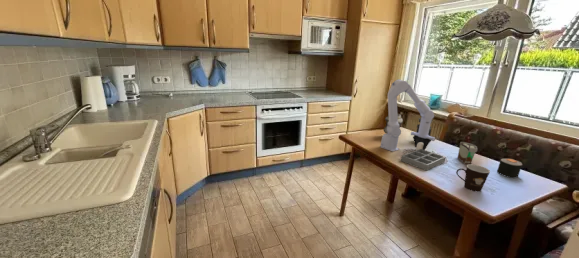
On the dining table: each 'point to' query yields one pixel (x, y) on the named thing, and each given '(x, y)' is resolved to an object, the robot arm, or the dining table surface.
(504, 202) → the dining table surface
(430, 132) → the french press
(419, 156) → the grey compartment tray
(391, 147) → the robot arm
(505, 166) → the sushi
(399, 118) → the apothecary jar
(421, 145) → the egg
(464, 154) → the food container
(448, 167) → the dining table surface
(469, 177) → the coffee mug
